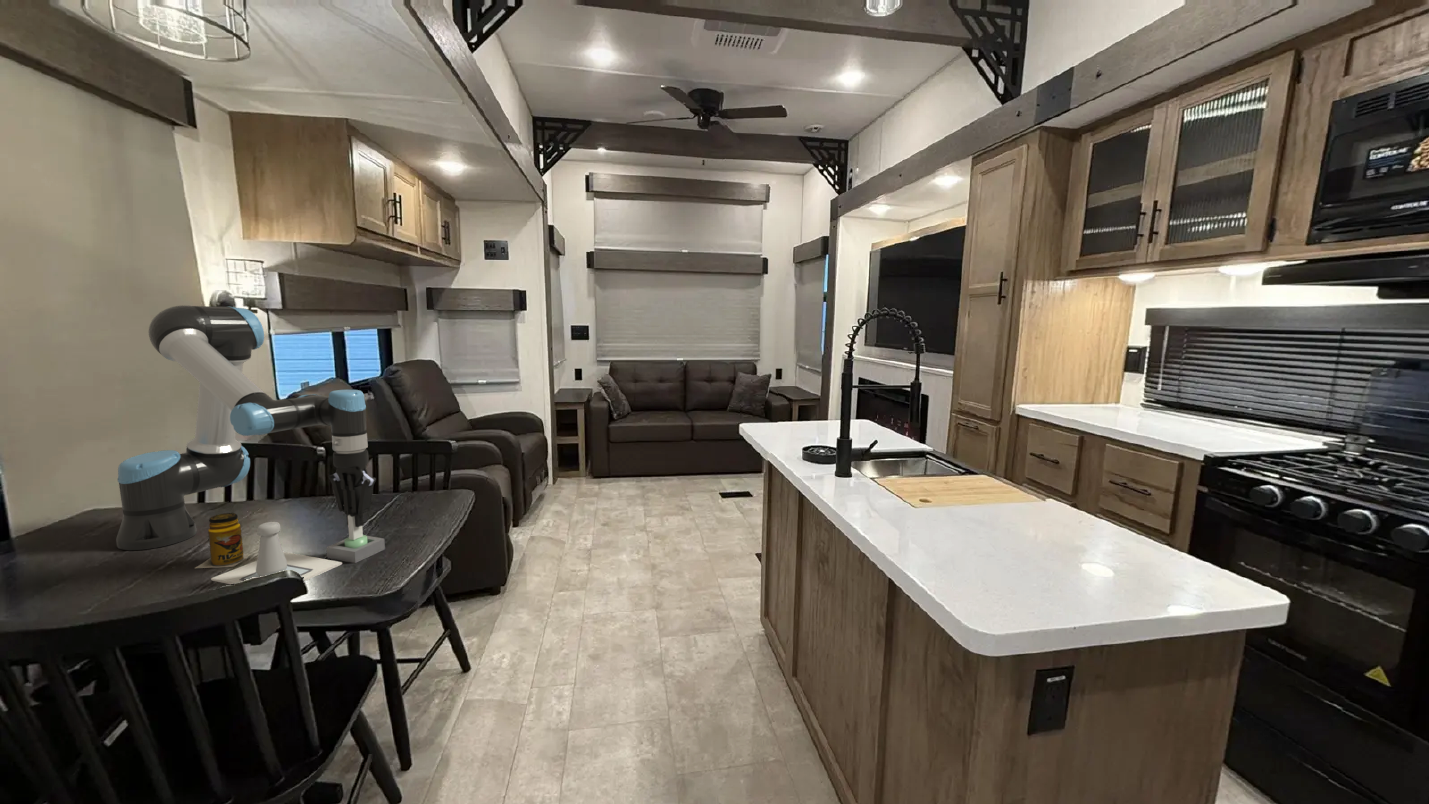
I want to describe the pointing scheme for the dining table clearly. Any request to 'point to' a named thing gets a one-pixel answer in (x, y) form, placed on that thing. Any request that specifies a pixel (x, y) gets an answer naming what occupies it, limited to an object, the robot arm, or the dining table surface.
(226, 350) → the robot arm
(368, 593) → the dining table surface
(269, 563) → the salt shaker
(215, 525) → the condiment
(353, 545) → the button
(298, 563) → the colouring board
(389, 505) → the dining table surface
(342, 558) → the button housing
